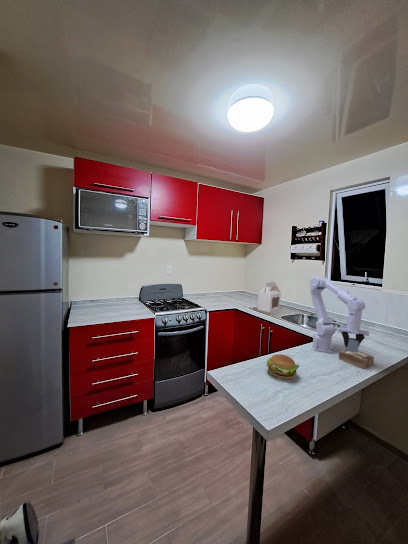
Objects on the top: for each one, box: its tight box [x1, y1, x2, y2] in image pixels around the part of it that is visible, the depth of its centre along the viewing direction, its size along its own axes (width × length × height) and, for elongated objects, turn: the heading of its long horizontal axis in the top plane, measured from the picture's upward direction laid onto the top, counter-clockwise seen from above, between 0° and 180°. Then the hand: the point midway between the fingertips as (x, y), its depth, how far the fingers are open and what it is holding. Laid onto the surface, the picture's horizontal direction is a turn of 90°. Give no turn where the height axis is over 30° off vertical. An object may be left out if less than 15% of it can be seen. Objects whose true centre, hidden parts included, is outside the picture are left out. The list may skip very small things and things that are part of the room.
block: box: [344, 337, 359, 352], centre depth 121 cm, size 4×4×6 cm
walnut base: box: [338, 349, 375, 370], centre depth 123 cm, size 12×12×4 cm
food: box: [266, 353, 300, 380], centre depth 105 cm, size 14×14×8 cm
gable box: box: [257, 281, 282, 313], centre depth 231 cm, size 22×13×28 cm, turn 136°
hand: (351, 346), depth 121 cm, fingers closed on block, 4 cm apart
